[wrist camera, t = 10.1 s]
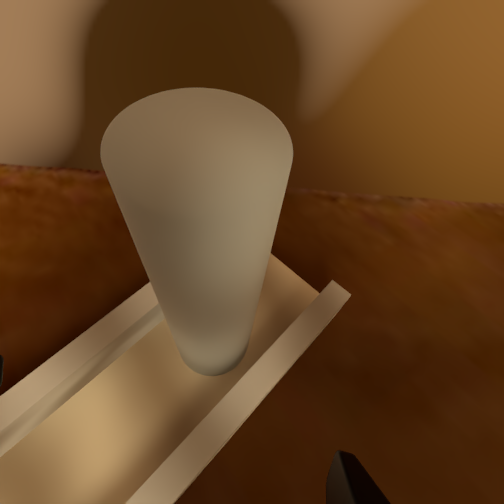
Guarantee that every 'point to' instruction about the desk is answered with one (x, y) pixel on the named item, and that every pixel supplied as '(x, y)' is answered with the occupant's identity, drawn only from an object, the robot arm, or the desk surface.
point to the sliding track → (146, 400)
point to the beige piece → (201, 210)
